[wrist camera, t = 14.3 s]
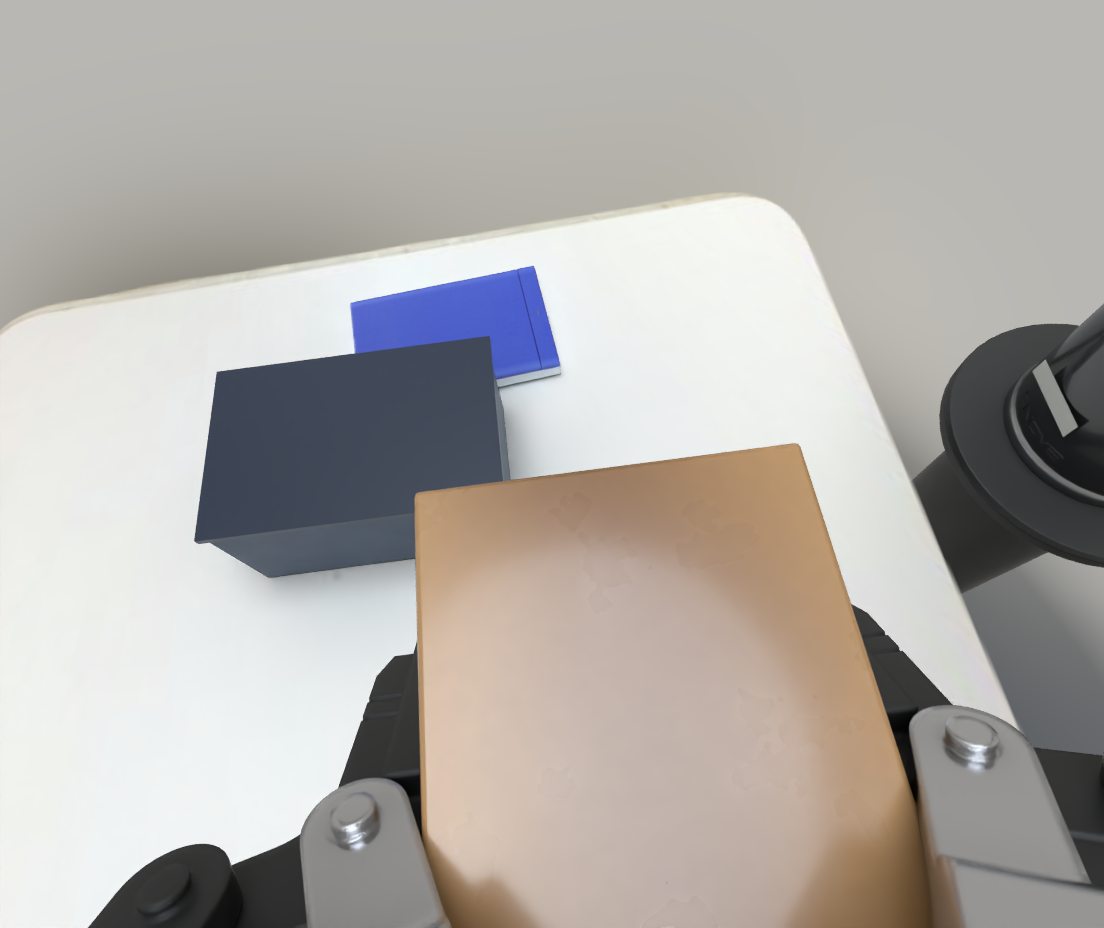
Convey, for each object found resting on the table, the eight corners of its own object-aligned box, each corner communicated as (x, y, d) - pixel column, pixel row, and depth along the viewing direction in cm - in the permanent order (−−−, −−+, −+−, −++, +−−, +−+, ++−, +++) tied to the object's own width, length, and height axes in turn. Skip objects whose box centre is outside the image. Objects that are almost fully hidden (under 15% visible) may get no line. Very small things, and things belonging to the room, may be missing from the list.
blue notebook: (358, 404, 38) (560, 362, 39) (348, 300, 42) (533, 262, 43) (367, 417, 40) (561, 376, 40) (356, 315, 43) (535, 278, 44)
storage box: (506, 404, 40) (489, 335, 33) (520, 548, 36) (504, 500, 29) (276, 434, 40) (216, 371, 33) (264, 582, 36) (193, 541, 29)
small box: (715, 578, 15) (800, 440, 9) (799, 939, 12) (1023, 1122, 6) (488, 607, 15) (412, 490, 9) (514, 976, 12) (426, 1198, 6)
